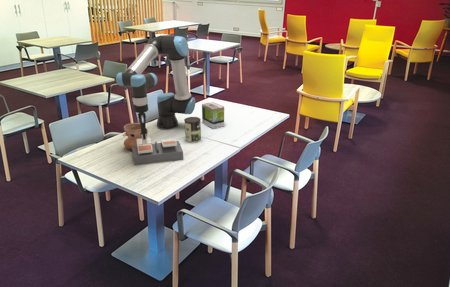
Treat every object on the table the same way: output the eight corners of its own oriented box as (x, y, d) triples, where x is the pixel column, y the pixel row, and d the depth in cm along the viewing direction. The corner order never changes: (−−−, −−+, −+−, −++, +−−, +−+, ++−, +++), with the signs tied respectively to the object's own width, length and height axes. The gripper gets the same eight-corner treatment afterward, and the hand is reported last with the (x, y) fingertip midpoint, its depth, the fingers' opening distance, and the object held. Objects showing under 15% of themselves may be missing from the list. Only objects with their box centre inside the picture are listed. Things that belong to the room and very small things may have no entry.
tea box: (224, 126, 262) (224, 106, 256) (212, 129, 256) (212, 109, 250) (213, 120, 273) (213, 101, 267) (201, 123, 268) (201, 103, 262)
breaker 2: (160, 142, 221) (160, 139, 221) (174, 141, 223) (174, 138, 223) (162, 147, 208) (162, 144, 208) (177, 145, 210) (177, 142, 210)
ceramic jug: (131, 155, 219) (129, 133, 213) (117, 148, 227) (115, 126, 222) (155, 146, 231) (154, 125, 225) (141, 140, 240) (140, 119, 234)
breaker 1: (136, 141, 217) (136, 138, 216) (150, 139, 219) (150, 137, 218) (137, 153, 206) (137, 151, 205) (153, 152, 208) (152, 149, 207)
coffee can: (202, 137, 243) (202, 117, 238) (198, 143, 234) (198, 122, 229) (187, 136, 245) (187, 116, 240) (183, 142, 236) (182, 121, 230)
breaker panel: (132, 153, 221) (131, 142, 218) (179, 148, 227) (178, 137, 225) (134, 165, 207) (132, 154, 204) (183, 159, 213) (182, 148, 210)
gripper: (132, 100, 202) (137, 140, 212) (134, 108, 190) (138, 149, 200) (146, 99, 203) (150, 138, 213) (148, 107, 192) (152, 147, 202)
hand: (144, 143), depth 207 cm, fingers closed
